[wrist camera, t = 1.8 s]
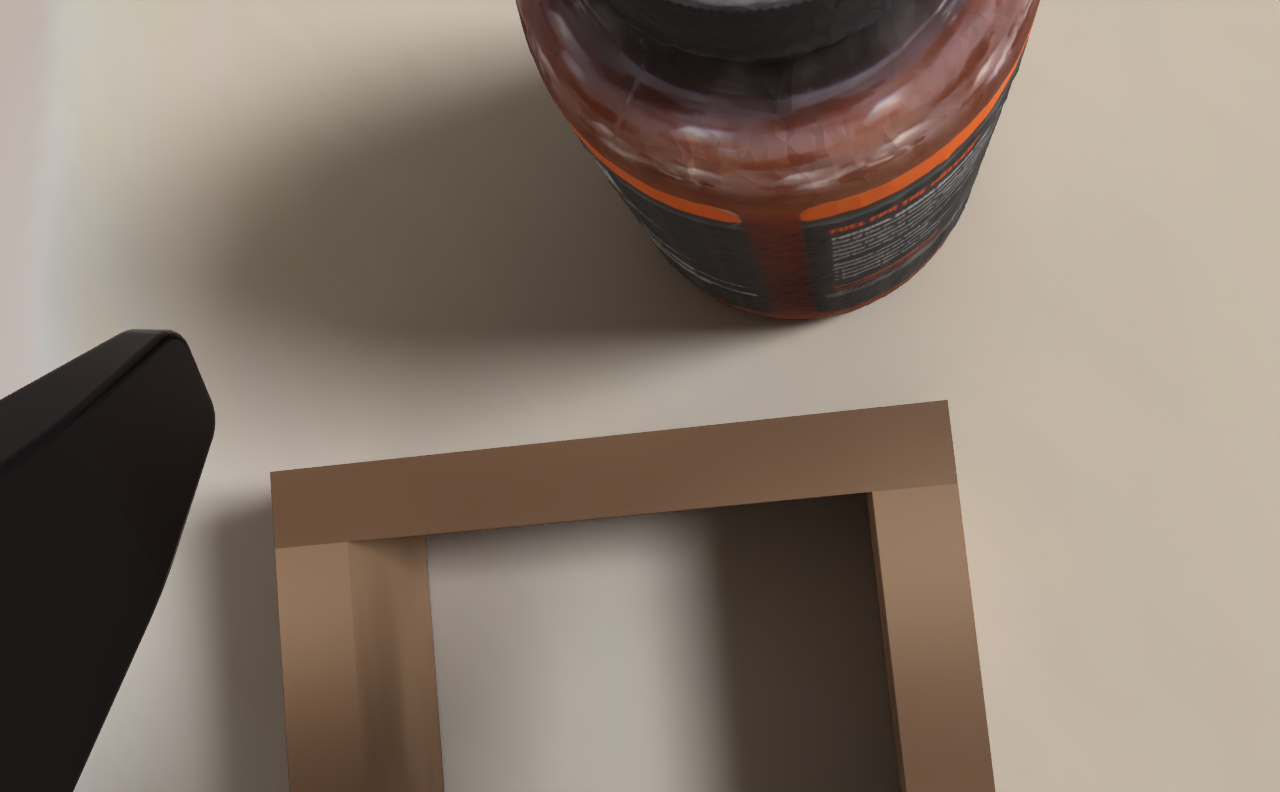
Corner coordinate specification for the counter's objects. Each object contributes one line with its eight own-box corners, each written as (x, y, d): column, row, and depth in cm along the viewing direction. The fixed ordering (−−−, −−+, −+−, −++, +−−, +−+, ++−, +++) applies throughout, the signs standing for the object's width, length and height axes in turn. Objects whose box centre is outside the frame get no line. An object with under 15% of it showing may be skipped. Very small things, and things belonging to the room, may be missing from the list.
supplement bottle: (1031, 79, 21) (1260, -418, 9) (877, 383, 21) (926, 243, 9) (726, -49, 22) (611, -627, 11) (579, 239, 22) (310, -36, 11)
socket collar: (1004, 1048, 19) (1040, 1167, 16) (399, 1062, 21) (313, 1173, 17) (928, 417, 20) (947, 400, 17) (358, 476, 22) (269, 471, 18)
